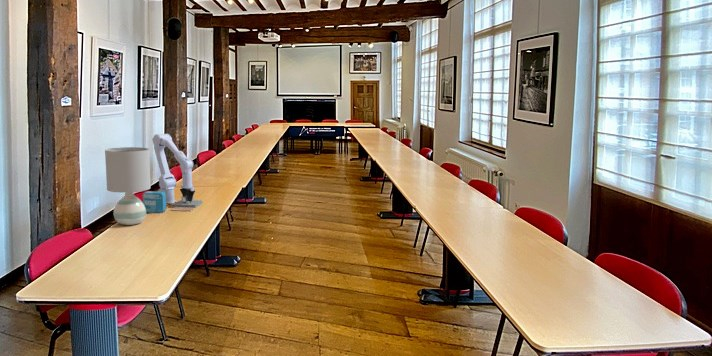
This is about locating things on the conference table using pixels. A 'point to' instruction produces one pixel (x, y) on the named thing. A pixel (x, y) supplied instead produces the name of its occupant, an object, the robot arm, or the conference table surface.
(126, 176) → the lamp
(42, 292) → the conference table surface
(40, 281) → the conference table surface
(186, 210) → the tile
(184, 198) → the t key
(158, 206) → the blue box
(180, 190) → the robot arm
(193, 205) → the cover plate
